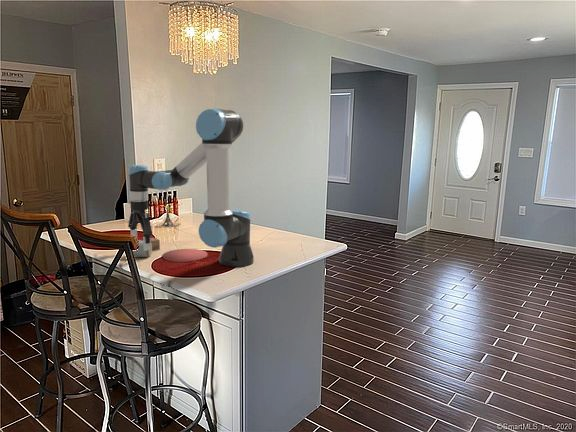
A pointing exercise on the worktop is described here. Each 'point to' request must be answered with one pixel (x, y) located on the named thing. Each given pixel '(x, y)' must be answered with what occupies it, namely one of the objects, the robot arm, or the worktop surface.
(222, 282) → the worktop surface
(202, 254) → the placemat
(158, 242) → the walnut cube
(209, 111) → the robot arm
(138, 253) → the light grey block
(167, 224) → the eiffel tower figurine
